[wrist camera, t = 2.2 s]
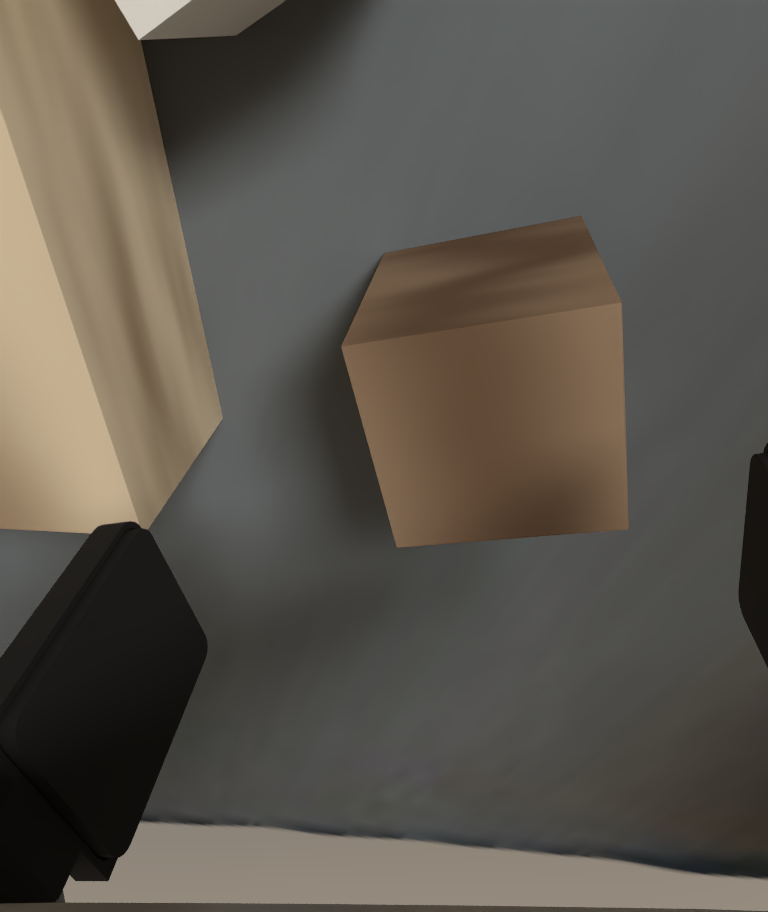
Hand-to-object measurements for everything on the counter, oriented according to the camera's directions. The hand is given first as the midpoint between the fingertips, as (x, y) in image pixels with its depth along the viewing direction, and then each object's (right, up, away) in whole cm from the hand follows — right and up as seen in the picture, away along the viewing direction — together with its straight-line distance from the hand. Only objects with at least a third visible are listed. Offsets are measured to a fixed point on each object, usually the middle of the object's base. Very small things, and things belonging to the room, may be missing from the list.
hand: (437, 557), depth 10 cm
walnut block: (+2, +5, +8) cm, 9 cm away
